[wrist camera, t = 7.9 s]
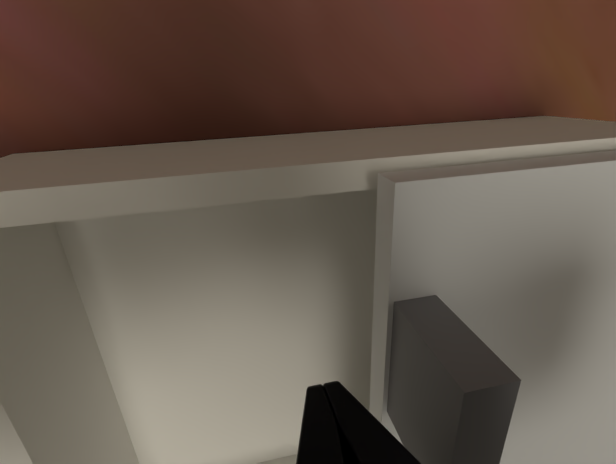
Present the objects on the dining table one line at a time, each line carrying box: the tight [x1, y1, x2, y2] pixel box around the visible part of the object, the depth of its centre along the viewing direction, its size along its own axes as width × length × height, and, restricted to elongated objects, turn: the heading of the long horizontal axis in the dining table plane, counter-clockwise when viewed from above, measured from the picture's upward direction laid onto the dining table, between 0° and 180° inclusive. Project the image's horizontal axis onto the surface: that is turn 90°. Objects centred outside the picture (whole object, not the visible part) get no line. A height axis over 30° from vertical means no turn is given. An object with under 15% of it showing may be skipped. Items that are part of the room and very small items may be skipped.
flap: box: [369, 150, 616, 464], centre depth 11 cm, size 18×11×4 cm, turn 3°
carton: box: [0, 116, 616, 464], centre depth 15 cm, size 19×22×6 cm
